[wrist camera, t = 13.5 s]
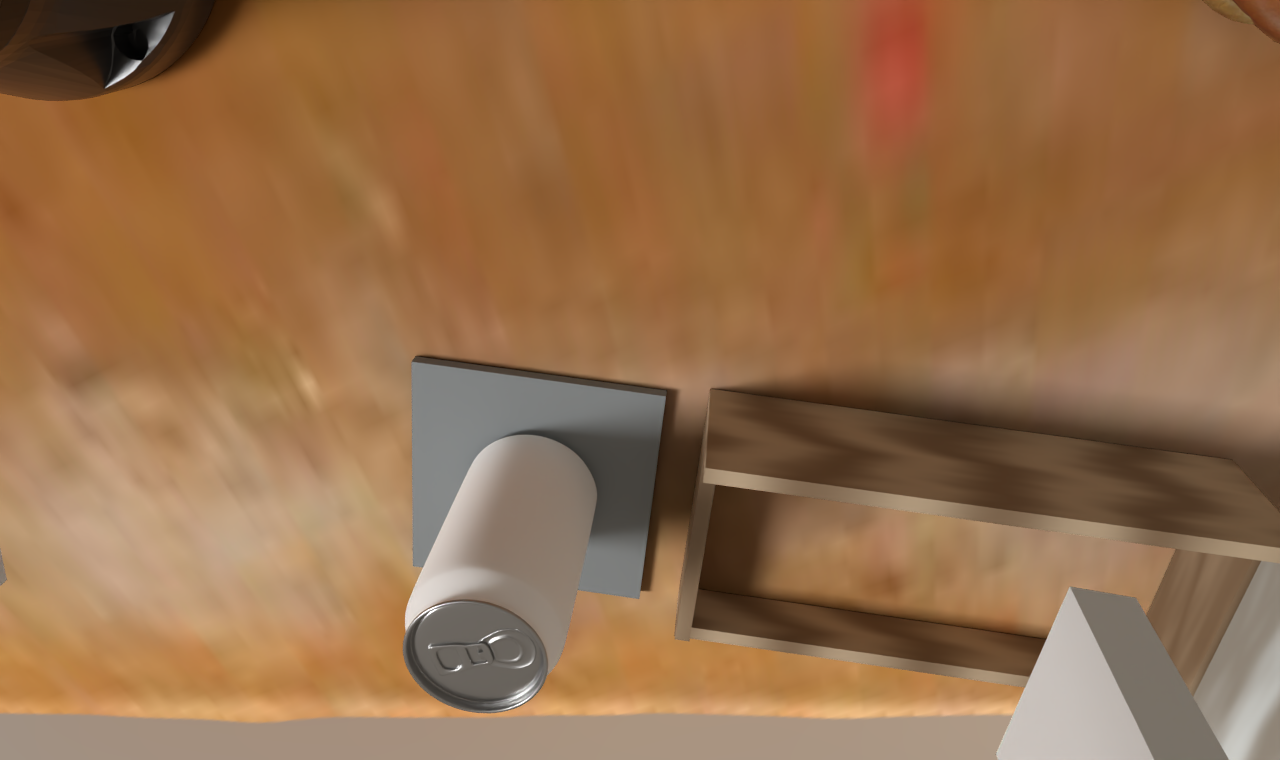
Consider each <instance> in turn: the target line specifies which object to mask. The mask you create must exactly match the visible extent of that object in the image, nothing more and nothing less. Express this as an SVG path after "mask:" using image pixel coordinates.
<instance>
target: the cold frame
mask: <svg viewBox="0 0 1280 760" xmlns="http://www.w3.org/2000/svg"><path fill="white" fill-rule="evenodd" d="M715 484H717V485H724V486H731V487H738V488H745V489H752V490H759V491H767V492H774V493H781V494H788V495H795V496H802V497H809V498H817V499H824V500H831V501H838V502H845V503H852V504H859V505H867V506H874V507H881V508H888V509H895V510H902V511H909V512H917V513H924V514H931V515H938V516H945V517H952V518H959V519H966V520H974V521H981V522H988V523H995V524H1002V525H1009V526H1016V527H1024V528H1031V529H1038V530H1045V531H1052V532H1059V533H1066V534H1074V535H1081V536H1088V537H1095V538H1102V539H1109V540H1116V541H1123V542H1131V543H1138V544H1145V545H1152V546H1159V547H1166V548H1173V549H1176V551H1175V553H1174V555H1173V557H1172V560H1171V562H1170V564H1169V566H1168V569H1167V571H1166V573H1165V575H1164V578H1163V580H1162V582H1161V584H1160V586H1159V589H1158V591H1157V593H1156V595H1155V598H1154V600H1153V602H1152V604H1151V607H1150V609H1149V611H1148V613H1147V615H1146V616H1147V618H1148V620H1149V622H1150V623H1151V625H1152V627H1153V628H1154V630H1155V632H1156V634H1157V635H1158V637H1159V639H1160V641H1161V642H1162V644H1163V646H1164V648H1165V649H1166V651H1167V653H1168V655H1169V656H1170V658H1171V660H1172V662H1173V663H1174V665H1175V667H1176V668H1177V670H1178V672H1179V674H1180V675H1181V677H1182V679H1183V681H1184V682H1185V684H1186V686H1187V688H1188V689H1189V691H1190V693H1191V695H1192V696H1193V698H1194V700H1195V701H1196V703H1197V705H1198V707H1199V708H1200V710H1201V712H1202V714H1203V715H1204V717H1205V719H1206V721H1207V722H1208V724H1209V726H1210V728H1211V729H1212V731H1213V733H1214V734H1215V736H1216V738H1217V740H1218V741H1219V743H1220V745H1221V747H1222V748H1223V750H1224V752H1225V754H1226V755H1227V757H1228V759H1229V760H1280V512H1279V511H1278V510H1277V509H1276V508H1275V507H1274V506H1273V504H1272V503H1271V502H1270V501H1269V500H1268V499H1267V498H1266V497H1265V496H1264V494H1263V493H1262V492H1261V491H1260V490H1259V489H1258V488H1257V487H1256V486H1255V484H1254V483H1253V482H1252V481H1251V480H1250V479H1249V478H1248V477H1247V475H1246V474H1245V473H1244V472H1243V471H1242V470H1241V469H1240V468H1239V467H1238V465H1237V464H1236V463H1235V462H1234V461H1233V460H1229V459H1222V458H1214V457H1207V456H1200V455H1192V454H1185V453H1178V452H1170V451H1163V450H1156V449H1148V448H1141V447H1134V446H1126V445H1119V444H1112V443H1104V442H1097V441H1090V440H1082V439H1075V438H1068V437H1060V436H1053V435H1046V434H1038V433H1031V432H1024V431H1016V430H1009V429H1002V428H994V427H987V426H980V425H972V424H965V423H958V422H950V421H943V420H936V419H928V418H921V417H913V416H906V415H899V414H891V413H884V412H877V411H869V410H862V409H855V408H847V407H840V406H833V405H825V404H818V403H811V402H803V401H796V400H789V399H781V398H774V397H767V396H759V395H752V394H745V393H737V392H730V391H723V390H715V389H710V394H709V401H708V407H707V413H706V420H705V426H704V433H703V439H702V446H701V452H700V458H699V465H698V471H697V478H696V484H695V491H694V497H693V503H692V510H691V516H690V523H689V529H688V536H687V542H686V548H685V555H684V561H683V568H682V574H681V581H680V587H679V593H678V602H677V613H676V624H675V635H674V636H675V639H677V640H684V641H689V640H690V638H691V639H698V640H704V641H711V642H718V643H725V644H732V645H739V646H745V647H752V648H759V649H766V650H773V651H780V652H786V653H793V654H800V655H807V656H814V657H821V658H827V659H834V660H841V661H848V662H855V663H861V664H868V665H875V666H882V667H889V668H896V669H902V670H909V671H916V672H923V673H930V674H937V675H943V676H950V677H957V678H964V679H971V680H978V681H984V682H991V683H998V684H1005V685H1012V686H1018V687H1026V685H1027V682H1028V680H1029V678H1030V676H1031V673H1032V671H1033V669H1034V666H1035V664H1036V662H1037V660H1038V657H1039V655H1040V653H1041V651H1042V648H1043V646H1044V644H1045V642H1046V639H1040V638H1033V637H1026V636H1019V635H1012V634H1005V633H998V632H991V631H984V630H978V629H971V628H964V627H957V626H950V625H943V624H936V623H929V622H922V621H915V620H908V619H901V618H894V617H888V616H881V615H874V614H867V613H860V612H853V611H846V610H839V609H832V608H825V607H818V606H811V605H804V604H798V603H791V602H784V601H777V600H770V599H763V598H756V597H749V596H742V595H735V594H728V593H721V592H714V591H708V590H701V589H698V586H699V580H700V574H701V568H702V562H703V556H704V550H705V544H706V538H707V532H708V526H709V520H710V514H711V508H712V502H713V496H714V490H715Z"/></svg>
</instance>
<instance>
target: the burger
mask: <svg viewBox="0 0 1280 760" xmlns="http://www.w3.org/2000/svg"><path fill="white" fill-rule="evenodd" d="M1202 1H1204V2H1205V3H1206V4H1207V5H1208V6H1209V7H1210V8H1211V9H1213V10H1214V11H1216V12H1217V13H1219V14H1220V15H1222V16H1224V17H1226V18H1228V19H1230V20H1233V21H1237V22H1241V23H1247V24H1255V26H1256V27H1258V28H1259V29H1260V30H1261V31H1262V32H1263V33H1264V34H1266V35H1267V36H1268V37H1270V38H1271V39H1272V40H1273V41H1274V42H1277V43H1279V44H1280V0H1202Z"/></svg>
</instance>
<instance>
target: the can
mask: <svg viewBox="0 0 1280 760" xmlns="http://www.w3.org/2000/svg"><path fill="white" fill-rule="evenodd" d="M596 502H597V489H596V485H595V482H594V479H593V477H592V474H591V473H590V471H589V469H588V467H587V466H586V464H585V463H584V462H583V460H582V459H581V458H580V457H579V456H578V455H577V454H576V453H575V452H573V451H572V450H571V449H569V448H568V447H566V446H565V445H563V444H561V443H559V442H557V441H555V440H552V439H549V438H546V437H542V436H536V435H514V436H509V437H505V438H502V439H499V440H497V441H495V442H493V443H491V444H490V445H488V446H487V447H486V448H484V449H483V450H482V451H481V452H480V453H479V454H478V455H477V457H476V458H475V460H474V461H473V463H472V465H471V466H470V468H469V470H468V472H467V475H466V477H465V479H464V481H463V483H462V485H461V487H460V489H459V491H458V493H457V496H456V498H455V500H454V502H453V504H452V506H451V508H450V511H449V513H448V515H447V517H446V519H445V521H444V523H443V526H442V528H441V530H440V532H439V534H438V536H437V539H436V541H435V543H434V545H433V547H432V549H431V552H430V554H429V556H428V558H427V560H426V562H425V565H424V567H423V569H422V571H421V573H420V576H419V578H418V580H417V582H416V585H415V587H414V589H413V592H412V594H411V596H410V599H409V602H408V605H407V609H406V614H405V628H406V633H405V636H404V641H403V655H404V660H405V663H406V666H407V668H408V670H409V672H410V674H411V675H412V677H413V678H414V680H415V681H416V682H417V683H418V684H419V685H420V687H421V688H423V689H424V690H425V691H426V692H427V693H428V694H430V695H431V696H432V697H434V698H436V699H437V700H439V701H441V702H443V703H445V704H447V705H449V706H452V707H454V708H457V709H461V710H464V711H469V712H476V713H497V712H503V711H508V710H511V709H514V708H517V707H519V706H521V705H523V704H525V703H526V702H528V701H529V700H531V699H532V698H533V697H534V696H535V695H536V694H537V693H538V692H539V690H540V689H541V688H542V686H543V684H544V682H545V679H546V676H547V675H548V674H549V673H550V672H551V671H552V669H553V668H554V667H555V666H556V664H557V662H558V661H559V659H560V656H561V654H562V651H563V648H564V645H565V641H566V638H567V633H568V629H569V625H570V621H571V616H572V612H573V608H574V603H575V599H576V595H577V590H578V586H579V581H580V577H581V572H582V568H583V563H584V559H585V554H586V550H587V545H588V541H589V536H590V532H591V527H592V522H593V518H594V513H595V508H596Z"/></svg>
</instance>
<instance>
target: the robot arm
mask: <svg viewBox="0 0 1280 760" xmlns="http://www.w3.org/2000/svg"><path fill="white" fill-rule="evenodd" d="M214 2H215V0H0V93H2V94H7V95H12V96H17V97H23V98H29V99H35V100H46V101H67V100H81V99H87V98H93V97H97V96H101V95H104V94H108V93H111V92H115V91H118V90H122V89H126V88H129V87H132V86H135V85H138V84H140V83H143V82H145V81H147V80H149V79H151V78H153V77H155V76H156V75H158V74H160V73H161V72H163V71H164V70H166V69H167V68H168V67H170V66H171V65H172V64H173V63H174V62H176V61H177V60H178V59H179V58H180V57H181V56H182V55H183V54H184V53H185V52H186V51H187V50H188V48H189V47H190V46H191V45H192V43H193V42H194V41H195V39H196V38H197V36H198V35H199V33H200V32H201V30H202V28H203V26H204V25H205V23H206V21H207V19H208V17H209V14H210V12H211V10H212V7H213V5H214ZM6 580H7V578H6V574H5V569H4V564H3V559H2V555H1V550H0V586H1V585H2V584H3V583H4V582H5V581H6ZM996 755H997V759H998V760H1229V759H1228V757H1227V755H1226V754H1225V752H1224V750H1223V748H1222V747H1221V745H1220V743H1219V741H1218V740H1217V738H1216V736H1215V734H1214V733H1213V731H1212V729H1211V728H1210V726H1209V724H1208V722H1207V721H1206V719H1205V717H1204V715H1203V714H1202V712H1201V710H1200V708H1199V707H1198V705H1197V703H1196V701H1195V700H1194V698H1193V696H1192V695H1191V693H1190V691H1189V689H1188V688H1187V686H1186V684H1185V682H1184V681H1183V679H1182V677H1181V675H1180V674H1179V672H1178V670H1177V668H1176V667H1175V665H1174V663H1173V662H1172V660H1171V658H1170V656H1169V655H1168V653H1167V651H1166V649H1165V648H1164V646H1163V644H1162V642H1161V641H1160V639H1159V637H1158V635H1157V634H1156V632H1155V630H1154V628H1153V627H1152V625H1151V623H1150V622H1149V620H1148V618H1147V616H1146V615H1145V613H1144V611H1143V609H1142V608H1141V606H1140V604H1139V602H1138V601H1137V599H1136V598H1134V597H1128V596H1122V595H1116V594H1111V593H1105V592H1099V591H1093V590H1087V589H1081V588H1076V587H1069V589H1068V592H1067V594H1066V596H1065V599H1064V601H1063V603H1062V605H1061V608H1060V610H1059V612H1058V614H1057V617H1056V619H1055V621H1054V623H1053V626H1052V628H1051V630H1050V632H1049V635H1048V637H1047V639H1046V642H1045V644H1044V646H1043V648H1042V651H1041V653H1040V655H1039V657H1038V660H1037V662H1036V664H1035V666H1034V669H1033V671H1032V673H1031V676H1030V678H1029V680H1028V682H1027V685H1026V687H1025V689H1024V691H1023V694H1022V696H1021V698H1020V700H1019V703H1018V705H1017V707H1016V709H1015V712H1014V714H1013V716H1012V719H1011V721H1010V723H1009V726H1008V728H1007V730H1006V732H1005V734H1004V737H1003V739H1002V741H1001V743H1000V746H999V748H998V750H997V752H996Z"/></svg>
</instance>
